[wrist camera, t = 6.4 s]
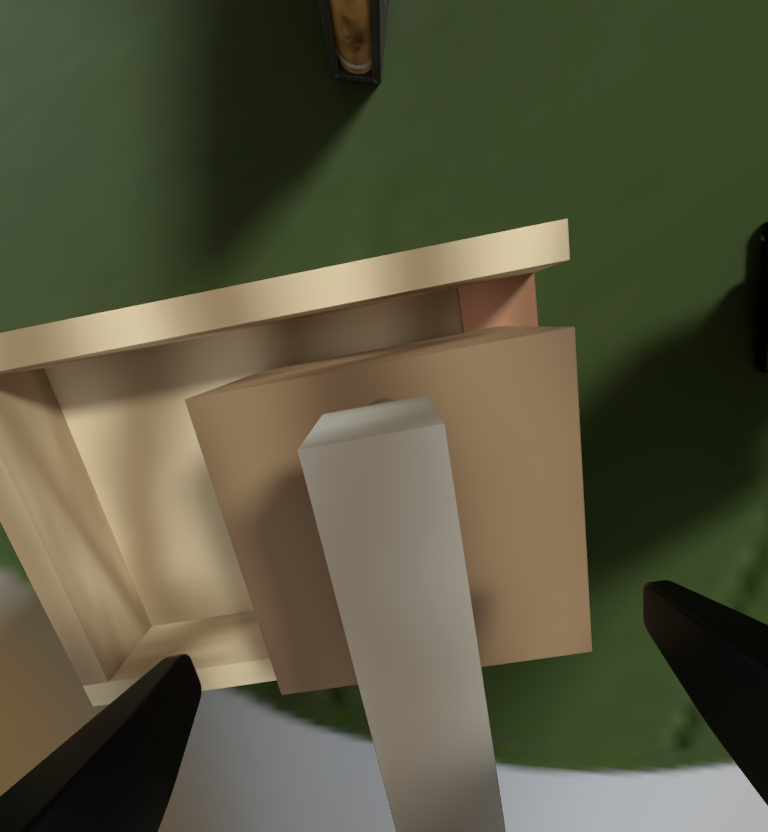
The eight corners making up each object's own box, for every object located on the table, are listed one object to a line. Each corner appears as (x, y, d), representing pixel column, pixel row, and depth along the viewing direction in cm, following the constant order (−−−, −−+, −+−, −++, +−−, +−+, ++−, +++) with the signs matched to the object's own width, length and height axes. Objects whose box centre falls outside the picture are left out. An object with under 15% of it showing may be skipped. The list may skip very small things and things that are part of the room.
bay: (520, 246, 15) (567, 218, 11) (548, 571, 19) (590, 635, 15) (28, 344, 16) (-86, 350, 12) (150, 632, 20) (92, 706, 16)
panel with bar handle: (499, 326, 15) (760, 328, 4) (521, 539, 17) (723, 860, 7) (262, 370, 15) (5, 465, 5) (316, 572, 18) (219, 915, 7)
